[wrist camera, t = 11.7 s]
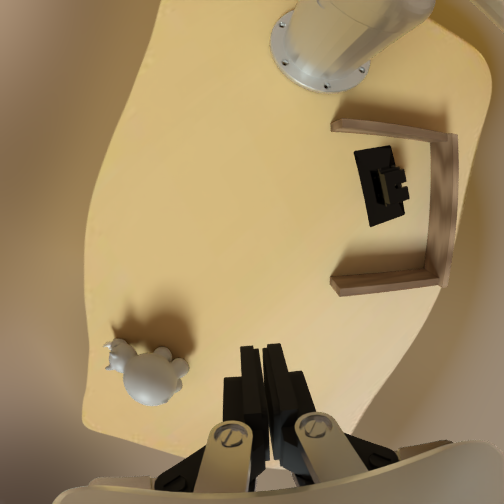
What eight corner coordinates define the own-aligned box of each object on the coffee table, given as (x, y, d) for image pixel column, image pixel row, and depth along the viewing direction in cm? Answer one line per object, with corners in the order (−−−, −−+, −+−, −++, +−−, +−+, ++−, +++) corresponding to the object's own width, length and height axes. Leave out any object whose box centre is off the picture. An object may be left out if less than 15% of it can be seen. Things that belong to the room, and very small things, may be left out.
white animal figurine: (132, 313, 39) (92, 330, 31) (198, 362, 37) (165, 392, 29) (121, 348, 41) (84, 368, 33) (181, 395, 38) (150, 425, 30)
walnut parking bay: (330, 123, 31) (345, 116, 26) (435, 136, 32) (457, 134, 27) (329, 284, 37) (342, 300, 32) (427, 274, 37) (447, 286, 32)
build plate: (408, 222, 36) (427, 230, 31) (363, 237, 36) (379, 247, 31) (390, 132, 32) (409, 129, 28) (341, 142, 32) (356, 139, 28)
